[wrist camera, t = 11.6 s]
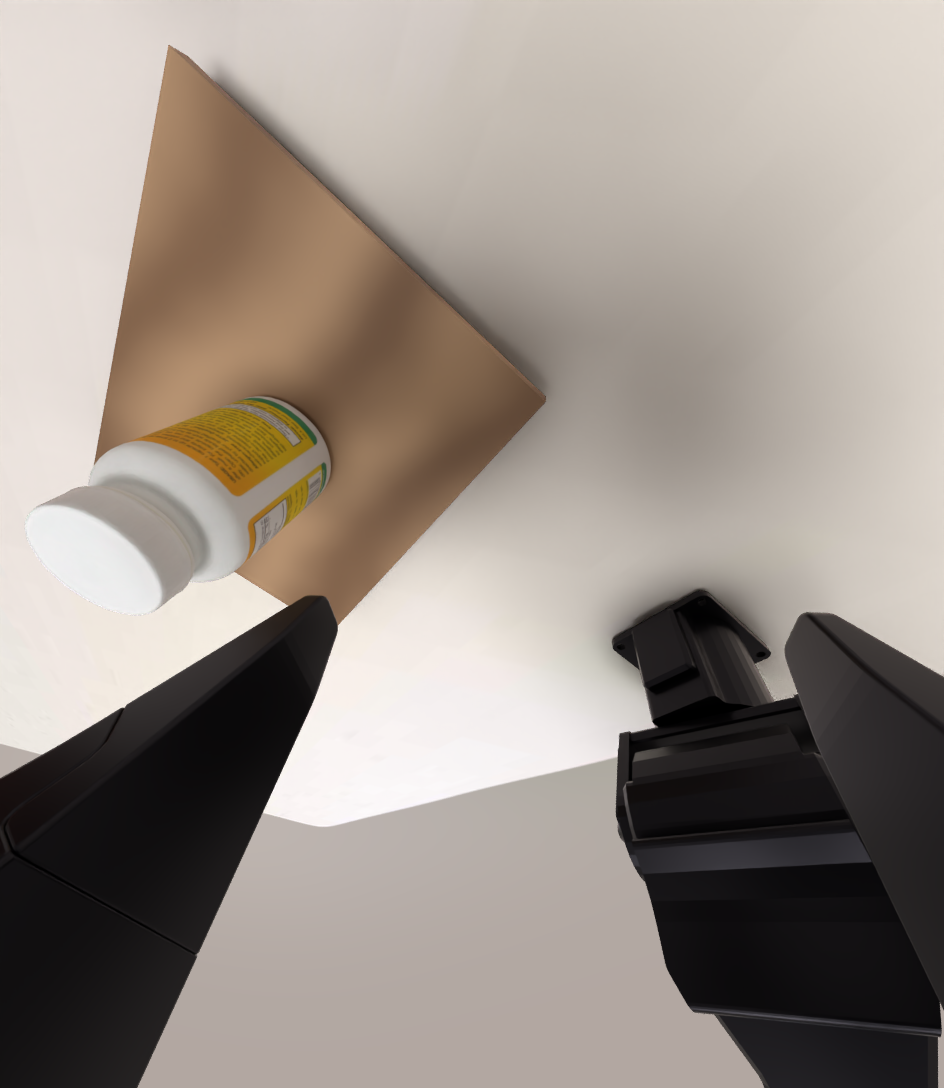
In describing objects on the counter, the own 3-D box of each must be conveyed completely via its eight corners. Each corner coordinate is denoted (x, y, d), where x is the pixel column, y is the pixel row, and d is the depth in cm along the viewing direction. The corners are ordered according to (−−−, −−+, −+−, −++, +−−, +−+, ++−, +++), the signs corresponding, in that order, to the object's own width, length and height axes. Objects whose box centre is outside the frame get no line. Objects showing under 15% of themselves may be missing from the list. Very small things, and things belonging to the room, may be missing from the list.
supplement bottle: (348, 496, 20) (217, 636, 12) (258, 501, 21) (85, 632, 13) (310, 386, 17) (108, 477, 9) (208, 398, 18) (-47, 488, 11)
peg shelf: (546, 389, 18) (545, 401, 16) (343, 611, 28) (331, 632, 26) (213, 71, 14) (168, 44, 12) (122, 467, 24) (91, 481, 23)
